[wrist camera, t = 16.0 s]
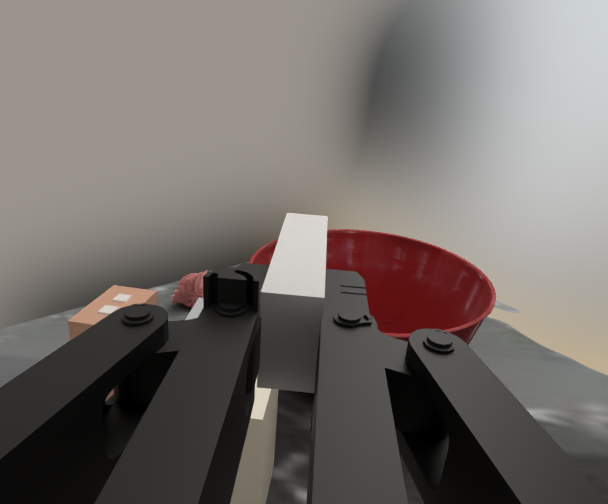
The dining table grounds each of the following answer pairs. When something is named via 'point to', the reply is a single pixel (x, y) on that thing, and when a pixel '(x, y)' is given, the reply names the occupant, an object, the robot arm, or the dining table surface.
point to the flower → (189, 289)
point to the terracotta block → (108, 308)
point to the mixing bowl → (408, 282)
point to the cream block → (258, 450)
